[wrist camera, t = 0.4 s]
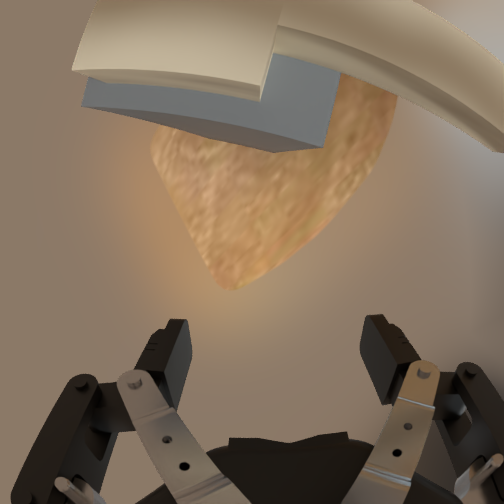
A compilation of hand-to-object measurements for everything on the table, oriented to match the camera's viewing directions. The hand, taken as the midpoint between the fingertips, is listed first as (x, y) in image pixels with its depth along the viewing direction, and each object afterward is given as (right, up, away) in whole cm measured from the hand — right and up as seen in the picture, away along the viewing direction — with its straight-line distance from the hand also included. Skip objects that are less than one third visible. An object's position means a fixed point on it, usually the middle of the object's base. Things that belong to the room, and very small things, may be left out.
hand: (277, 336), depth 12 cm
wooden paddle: (+2, +11, -4) cm, 13 cm away
